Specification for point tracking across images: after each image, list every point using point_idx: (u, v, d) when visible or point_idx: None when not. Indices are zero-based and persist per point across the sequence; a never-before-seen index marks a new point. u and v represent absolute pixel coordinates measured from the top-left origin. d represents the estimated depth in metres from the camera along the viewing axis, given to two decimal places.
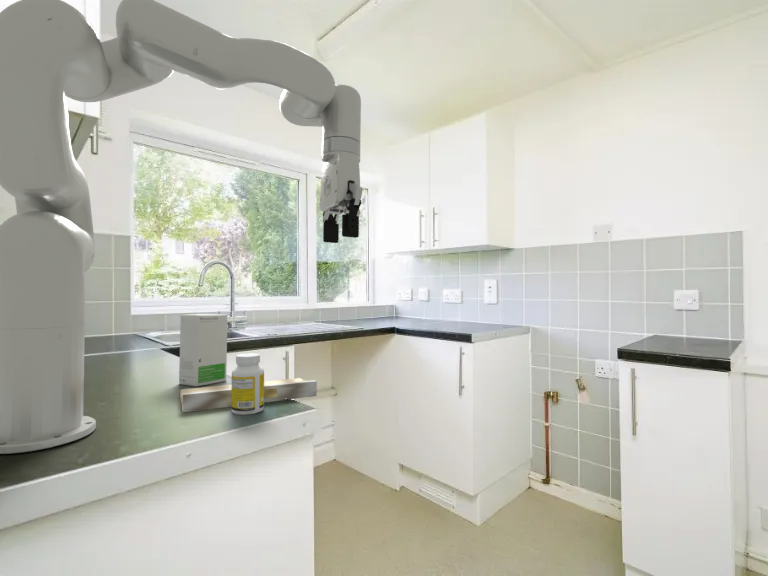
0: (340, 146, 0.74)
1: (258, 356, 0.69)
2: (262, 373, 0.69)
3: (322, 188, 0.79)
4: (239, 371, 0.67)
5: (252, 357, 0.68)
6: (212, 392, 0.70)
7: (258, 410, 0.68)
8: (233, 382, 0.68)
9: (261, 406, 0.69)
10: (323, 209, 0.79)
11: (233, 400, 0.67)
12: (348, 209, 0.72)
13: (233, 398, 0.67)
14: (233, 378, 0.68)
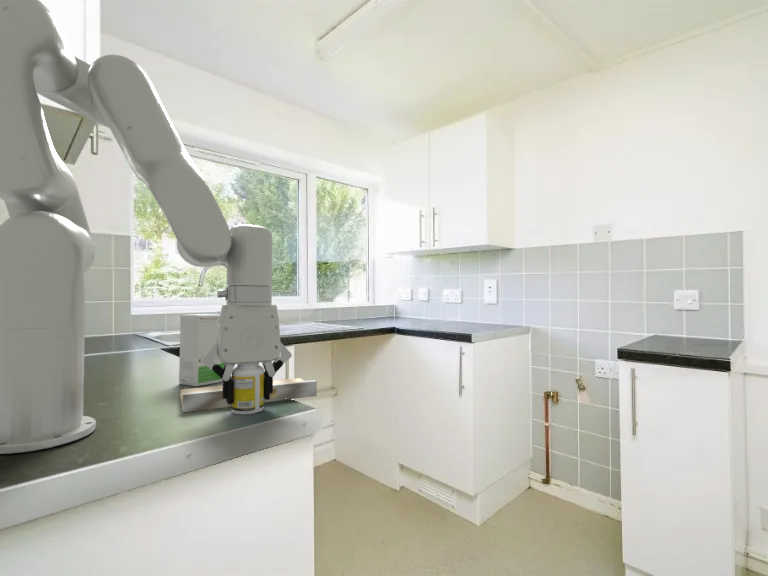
0: (271, 297, 0.70)
1: None
2: (262, 373, 0.69)
3: (233, 337, 0.66)
4: (239, 371, 0.67)
5: None
6: (212, 392, 0.70)
7: (258, 410, 0.68)
8: (233, 382, 0.68)
9: (261, 406, 0.69)
10: (236, 362, 0.66)
11: (233, 400, 0.67)
12: (274, 371, 0.71)
13: (233, 398, 0.67)
14: (233, 378, 0.68)
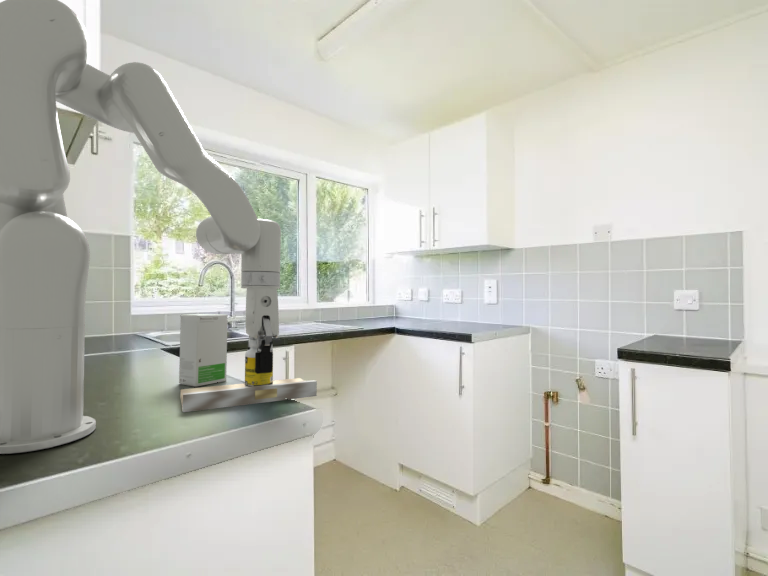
0: None
1: None
2: None
3: None
4: None
5: None
6: (212, 392, 0.70)
7: None
8: None
9: None
10: None
11: (266, 378, 0.78)
12: None
13: (266, 376, 0.78)
14: None
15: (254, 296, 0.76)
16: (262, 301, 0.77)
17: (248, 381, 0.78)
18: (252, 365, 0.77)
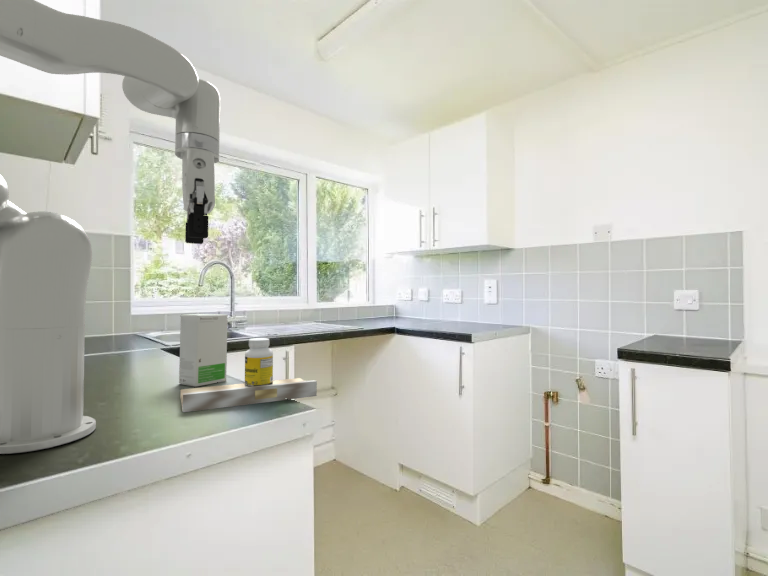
0: None
1: None
2: None
3: None
4: (270, 352, 0.79)
5: (268, 339, 0.81)
6: (212, 392, 0.70)
7: None
8: (265, 362, 0.78)
9: None
10: (213, 207, 0.74)
11: (266, 378, 0.78)
12: None
13: (266, 376, 0.78)
14: (266, 359, 0.78)
15: (186, 157, 0.70)
16: (196, 164, 0.71)
17: (248, 381, 0.78)
18: (251, 365, 0.77)
